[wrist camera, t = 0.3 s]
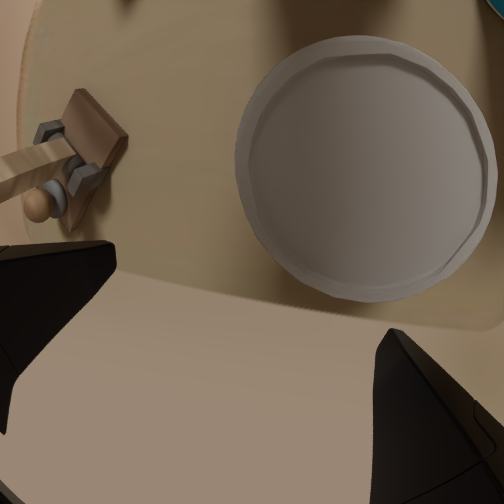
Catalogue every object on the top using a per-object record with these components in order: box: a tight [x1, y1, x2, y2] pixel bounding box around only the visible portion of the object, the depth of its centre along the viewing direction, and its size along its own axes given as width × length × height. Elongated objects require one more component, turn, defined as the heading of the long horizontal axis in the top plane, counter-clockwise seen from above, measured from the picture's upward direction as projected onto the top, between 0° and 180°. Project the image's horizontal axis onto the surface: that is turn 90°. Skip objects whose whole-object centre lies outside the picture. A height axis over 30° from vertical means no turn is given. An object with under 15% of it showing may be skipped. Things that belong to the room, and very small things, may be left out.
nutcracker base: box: [24, 88, 128, 232], centre depth 23 cm, size 14×8×6 cm, turn 135°
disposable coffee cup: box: [235, 35, 498, 303], centre depth 13 cm, size 10×10×12 cm
